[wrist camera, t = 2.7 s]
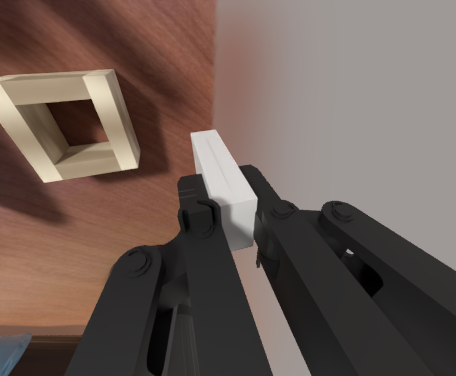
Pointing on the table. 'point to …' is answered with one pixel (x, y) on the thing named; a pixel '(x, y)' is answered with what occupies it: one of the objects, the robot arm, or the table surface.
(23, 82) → the hole block
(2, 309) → the table surface
